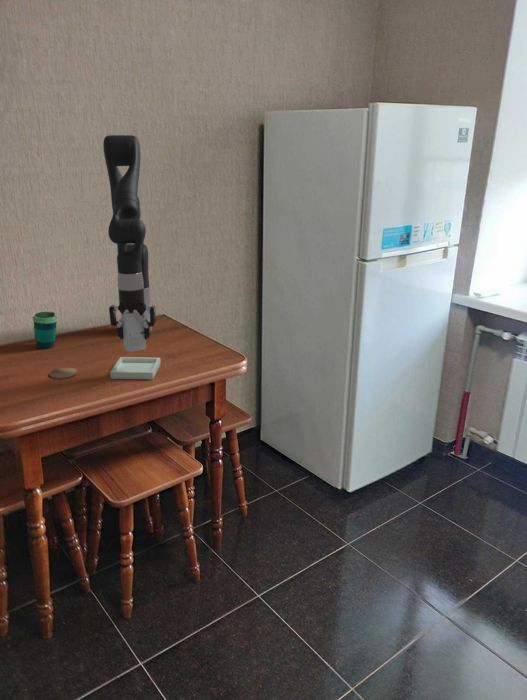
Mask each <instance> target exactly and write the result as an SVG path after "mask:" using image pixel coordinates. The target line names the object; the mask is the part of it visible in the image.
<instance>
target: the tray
mask: <svg viewBox="0 0 527 700" xmlns="http://www.w3.org/2000/svg"><path fill="white" fill-rule="evenodd" d="M161 363H162V362H161V357H147V356H146V357H145V356H144V357H143V356H142V357H141V356H139V357H138V356H137V357H136V356H133V357H131V356H120V357H119V358H118V360H117V362H116V363H115V364H114V365H113V367H112V369H111V370H110V372H109V373H110V374H109V375H110V379H116V380H117V379H118V380H120V379H121V380H154V378H155V376H156V374H157V372H158V370H159V368H160V366H161Z"/></svg>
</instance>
